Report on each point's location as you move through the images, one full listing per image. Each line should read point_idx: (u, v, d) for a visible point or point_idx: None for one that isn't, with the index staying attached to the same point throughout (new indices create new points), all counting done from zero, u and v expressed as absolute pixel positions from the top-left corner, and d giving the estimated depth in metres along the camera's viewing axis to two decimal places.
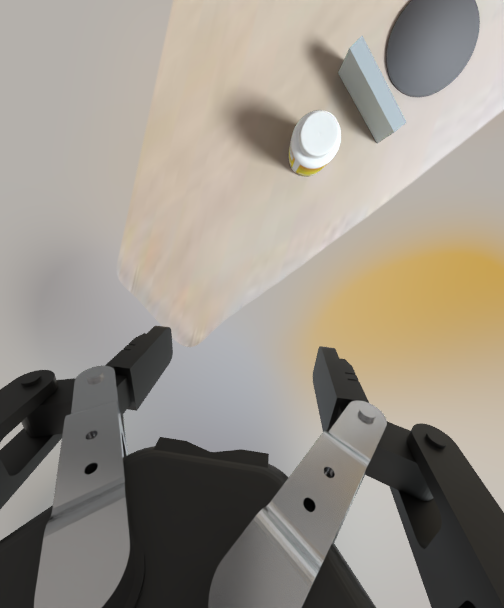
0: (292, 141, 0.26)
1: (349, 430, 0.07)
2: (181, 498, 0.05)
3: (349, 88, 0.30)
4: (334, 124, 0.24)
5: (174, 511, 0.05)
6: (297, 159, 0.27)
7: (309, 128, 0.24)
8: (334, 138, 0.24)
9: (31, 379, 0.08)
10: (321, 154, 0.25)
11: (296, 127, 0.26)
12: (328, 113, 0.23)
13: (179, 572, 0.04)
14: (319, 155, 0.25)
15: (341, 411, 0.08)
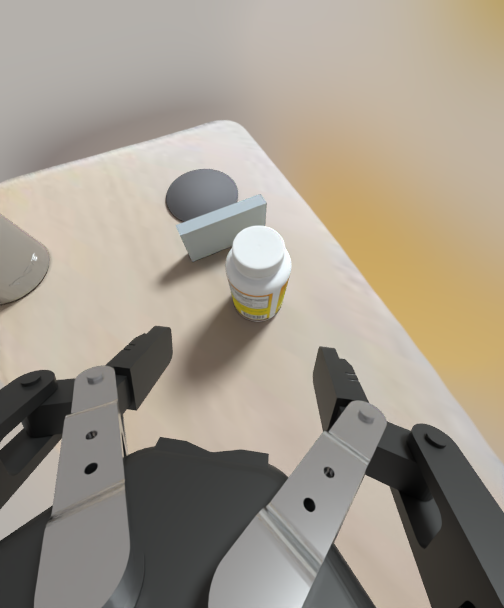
0: (251, 290, 0.18)
1: (349, 430, 0.07)
2: (181, 498, 0.05)
3: (209, 251, 0.28)
4: (253, 229, 0.18)
5: (174, 511, 0.05)
6: (275, 288, 0.18)
7: (248, 256, 0.17)
8: (269, 230, 0.18)
9: (31, 379, 0.08)
10: (284, 247, 0.17)
11: (237, 283, 0.18)
12: (239, 234, 0.17)
13: (179, 572, 0.04)
14: (284, 250, 0.17)
15: (341, 411, 0.08)
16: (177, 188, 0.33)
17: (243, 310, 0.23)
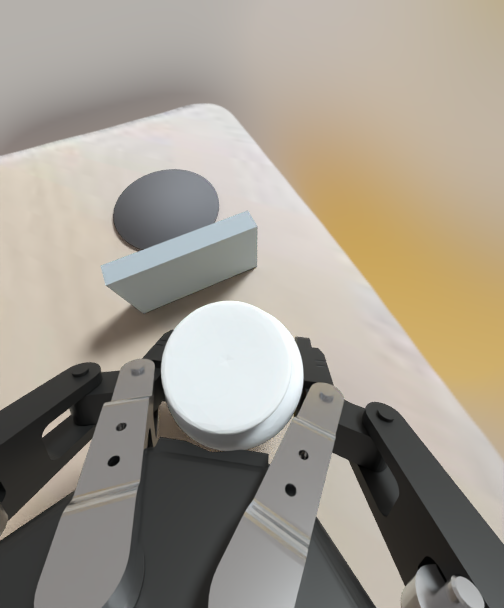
0: (215, 446, 0.08)
1: (308, 407, 0.08)
2: (181, 498, 0.05)
3: (169, 298, 0.18)
4: (216, 311, 0.07)
5: (174, 511, 0.05)
6: (269, 437, 0.08)
7: (198, 393, 0.07)
8: (253, 315, 0.07)
9: (80, 370, 0.08)
10: (289, 362, 0.07)
11: (182, 426, 0.08)
12: (181, 326, 0.07)
13: (179, 571, 0.04)
14: (291, 370, 0.07)
15: (306, 392, 0.09)
16: (131, 198, 0.23)
17: None
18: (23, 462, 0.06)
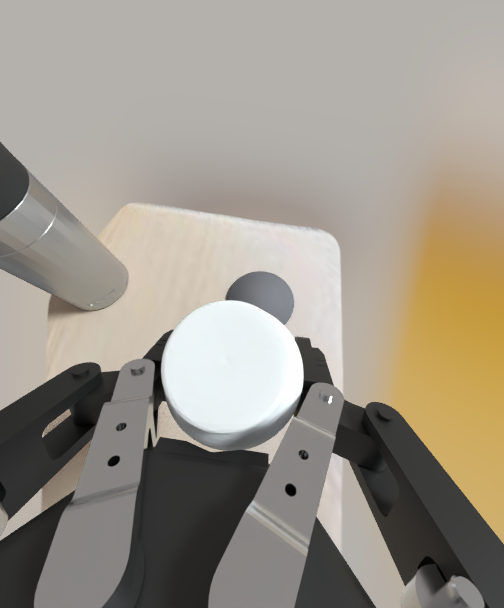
0: (215, 446, 0.08)
1: (308, 407, 0.08)
2: (181, 498, 0.05)
3: None
4: (216, 311, 0.07)
5: (174, 511, 0.05)
6: (269, 437, 0.08)
7: (198, 393, 0.07)
8: (253, 315, 0.07)
9: (80, 370, 0.08)
10: (289, 362, 0.07)
11: (182, 425, 0.08)
12: (181, 325, 0.07)
13: (178, 573, 0.04)
14: (291, 369, 0.07)
15: (306, 392, 0.09)
16: (244, 283, 0.36)
17: None
18: (23, 462, 0.06)
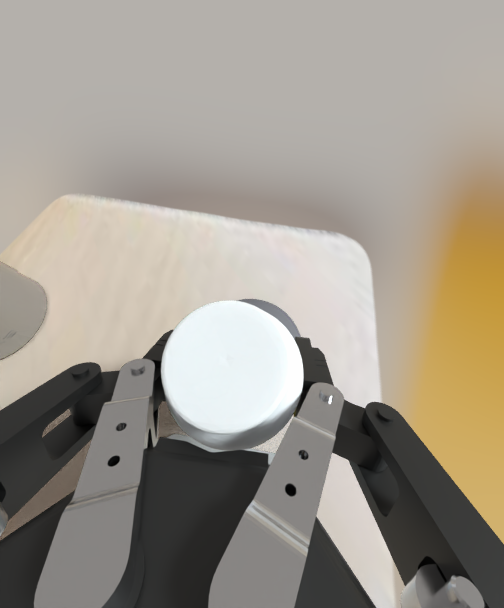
0: (214, 446, 0.08)
1: (307, 407, 0.08)
2: (181, 498, 0.05)
3: None
4: (216, 311, 0.07)
5: (174, 511, 0.05)
6: (269, 437, 0.08)
7: (198, 393, 0.07)
8: (253, 315, 0.07)
9: (80, 370, 0.08)
10: (289, 362, 0.07)
11: (182, 425, 0.08)
12: (181, 325, 0.07)
13: (179, 572, 0.04)
14: (291, 369, 0.07)
15: (306, 392, 0.09)
16: None
17: None
18: (23, 462, 0.06)
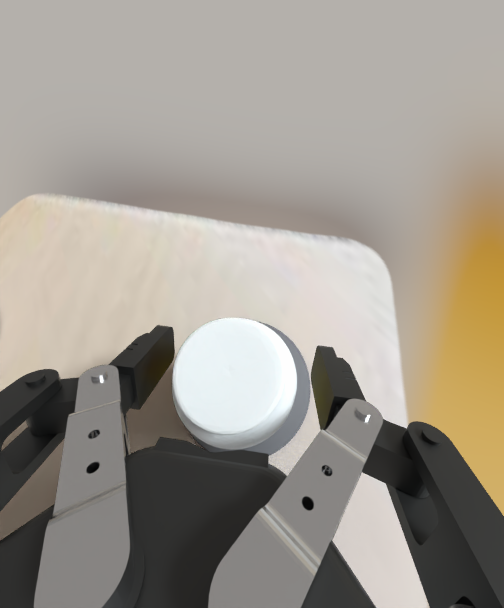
0: (218, 445, 0.09)
1: (346, 428, 0.07)
2: (181, 498, 0.05)
3: None
4: (220, 327, 0.09)
5: (174, 511, 0.05)
6: (265, 438, 0.09)
7: (204, 399, 0.08)
8: (252, 331, 0.08)
9: (35, 378, 0.08)
10: (283, 373, 0.08)
11: (189, 427, 0.09)
12: (189, 340, 0.08)
13: (179, 573, 0.04)
14: (284, 379, 0.08)
15: (338, 409, 0.08)
16: None
17: None
18: None
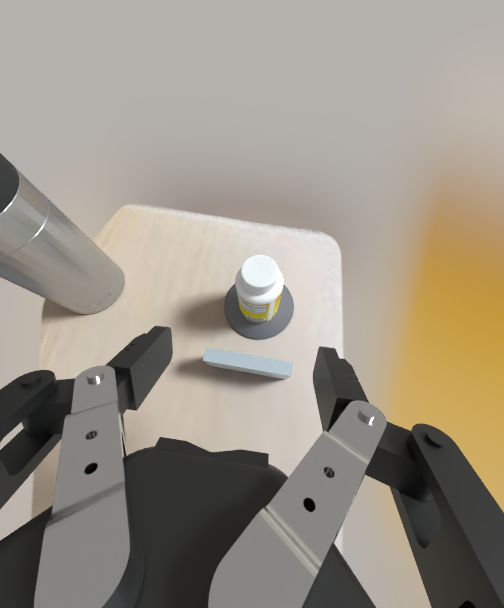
0: (254, 301, 0.25)
1: (349, 430, 0.07)
2: (181, 498, 0.05)
3: (227, 368, 0.30)
4: (256, 257, 0.25)
5: (174, 511, 0.05)
6: (271, 299, 0.25)
7: (252, 278, 0.24)
8: (267, 258, 0.25)
9: (31, 379, 0.08)
10: (277, 271, 0.24)
11: (244, 295, 0.25)
12: (245, 261, 0.25)
13: (179, 572, 0.04)
14: (278, 273, 0.24)
15: (341, 411, 0.08)
16: None
17: (247, 314, 0.30)
18: None
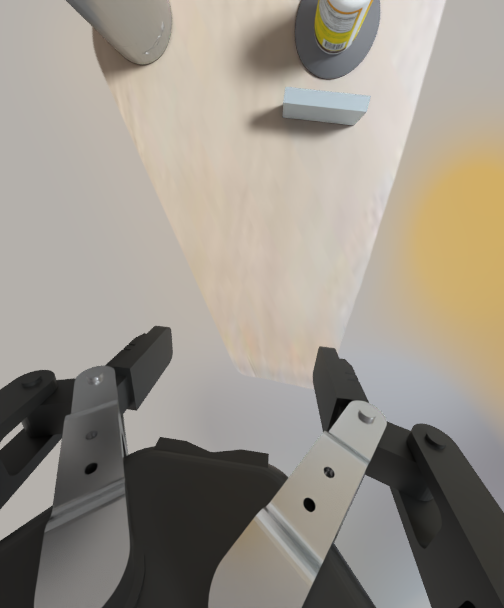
0: (346, 5, 0.22)
1: (349, 430, 0.07)
2: (181, 498, 0.05)
3: (299, 117, 0.32)
4: None
5: (174, 511, 0.05)
6: (367, 0, 0.22)
7: None
8: None
9: (30, 379, 0.08)
10: None
11: None
12: None
13: (179, 571, 0.04)
14: None
15: (341, 411, 0.08)
16: None
17: (326, 38, 0.27)
18: None
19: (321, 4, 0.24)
